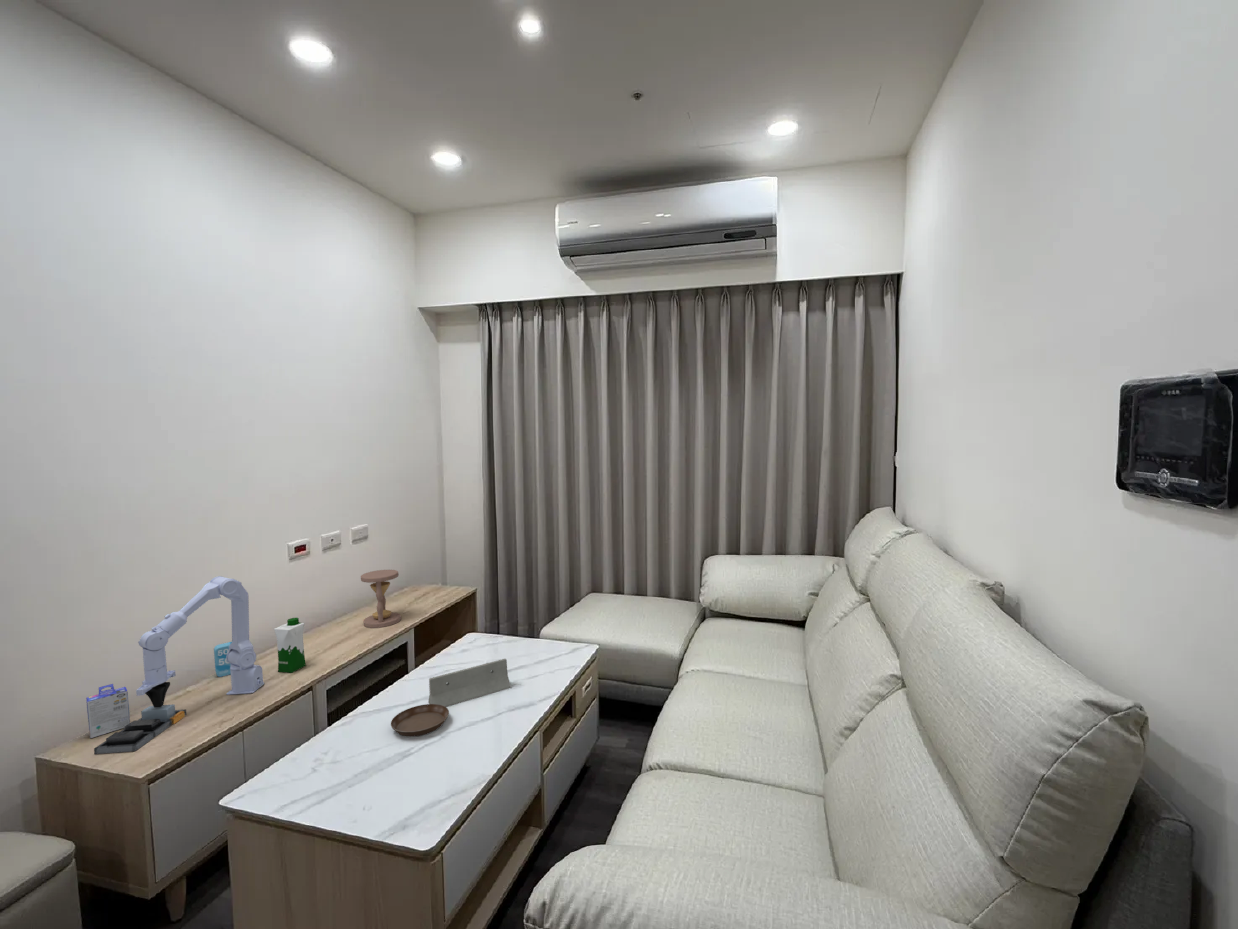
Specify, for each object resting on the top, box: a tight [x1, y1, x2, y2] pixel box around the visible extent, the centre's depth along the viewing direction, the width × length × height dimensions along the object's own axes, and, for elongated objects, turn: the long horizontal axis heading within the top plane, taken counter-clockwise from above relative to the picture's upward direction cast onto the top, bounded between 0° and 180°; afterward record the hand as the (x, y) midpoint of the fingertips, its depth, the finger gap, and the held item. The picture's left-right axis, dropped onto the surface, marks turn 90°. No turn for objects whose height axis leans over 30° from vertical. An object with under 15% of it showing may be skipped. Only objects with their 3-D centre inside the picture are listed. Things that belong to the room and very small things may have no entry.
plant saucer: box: [390, 703, 450, 738], centre depth 175 cm, size 18×18×3 cm
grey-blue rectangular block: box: [140, 703, 176, 721], centre depth 183 cm, size 8×4×5 cm, turn 95°
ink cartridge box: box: [85, 683, 131, 739], centre depth 179 cm, size 10×6×14 cm, turn 138°
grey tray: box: [93, 709, 187, 755], centre depth 176 cm, size 12×22×4 cm, turn 5°
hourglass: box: [360, 569, 402, 629], centre depth 276 cm, size 18×18×25 cm
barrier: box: [428, 658, 512, 708], centre depth 195 cm, size 28×7×10 cm, turn 123°
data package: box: [213, 641, 232, 678], centre depth 222 cm, size 12×4×12 cm, turn 131°
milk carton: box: [273, 617, 307, 674], centre depth 222 cm, size 9×9×20 cm
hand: (158, 706), depth 183 cm, fingers closed
